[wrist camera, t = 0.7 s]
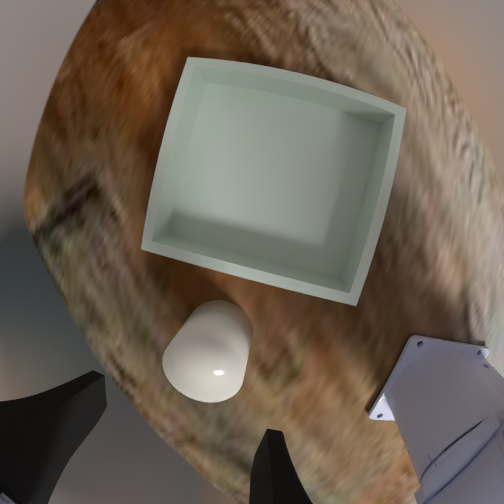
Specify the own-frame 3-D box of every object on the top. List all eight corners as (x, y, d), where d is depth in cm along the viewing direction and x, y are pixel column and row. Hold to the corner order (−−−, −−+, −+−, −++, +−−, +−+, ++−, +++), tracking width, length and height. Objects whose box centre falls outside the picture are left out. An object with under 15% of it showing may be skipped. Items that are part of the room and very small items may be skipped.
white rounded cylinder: (260, 309, 18) (252, 349, 13) (244, 364, 19) (233, 410, 14) (194, 291, 18) (166, 324, 14) (184, 346, 19) (159, 387, 14)
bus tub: (387, 120, 15) (406, 108, 12) (344, 288, 17) (356, 306, 14) (201, 76, 15) (187, 56, 13) (161, 240, 18) (140, 249, 15)
